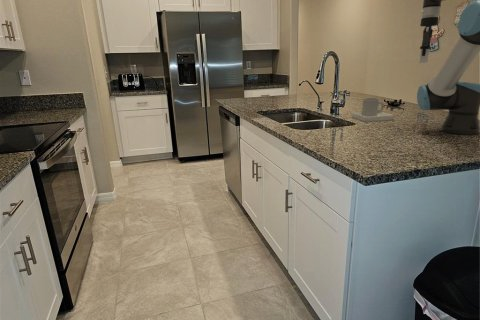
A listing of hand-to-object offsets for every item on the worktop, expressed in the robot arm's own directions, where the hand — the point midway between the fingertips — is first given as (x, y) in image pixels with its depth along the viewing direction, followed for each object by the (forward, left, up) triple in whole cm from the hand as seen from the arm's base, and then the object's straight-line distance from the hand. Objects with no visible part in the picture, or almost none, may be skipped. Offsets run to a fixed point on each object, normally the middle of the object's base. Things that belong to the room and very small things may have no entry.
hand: (423, 62), depth 160 cm
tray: (+6, +23, -32) cm, 40 cm away
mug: (+6, +23, -31) cm, 39 cm away
